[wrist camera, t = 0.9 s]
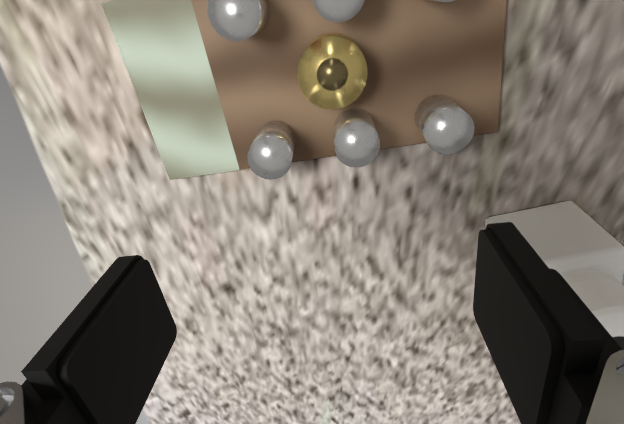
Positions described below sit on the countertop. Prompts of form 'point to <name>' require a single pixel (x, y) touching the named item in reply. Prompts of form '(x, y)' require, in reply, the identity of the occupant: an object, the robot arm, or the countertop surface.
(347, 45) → the brass knob
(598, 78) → the countertop surface
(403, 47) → the board
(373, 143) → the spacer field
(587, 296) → the medicine bottle
